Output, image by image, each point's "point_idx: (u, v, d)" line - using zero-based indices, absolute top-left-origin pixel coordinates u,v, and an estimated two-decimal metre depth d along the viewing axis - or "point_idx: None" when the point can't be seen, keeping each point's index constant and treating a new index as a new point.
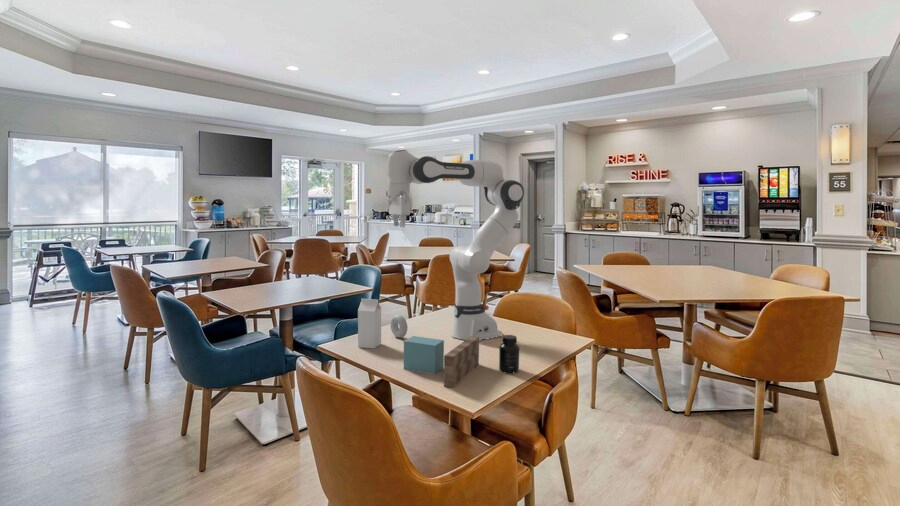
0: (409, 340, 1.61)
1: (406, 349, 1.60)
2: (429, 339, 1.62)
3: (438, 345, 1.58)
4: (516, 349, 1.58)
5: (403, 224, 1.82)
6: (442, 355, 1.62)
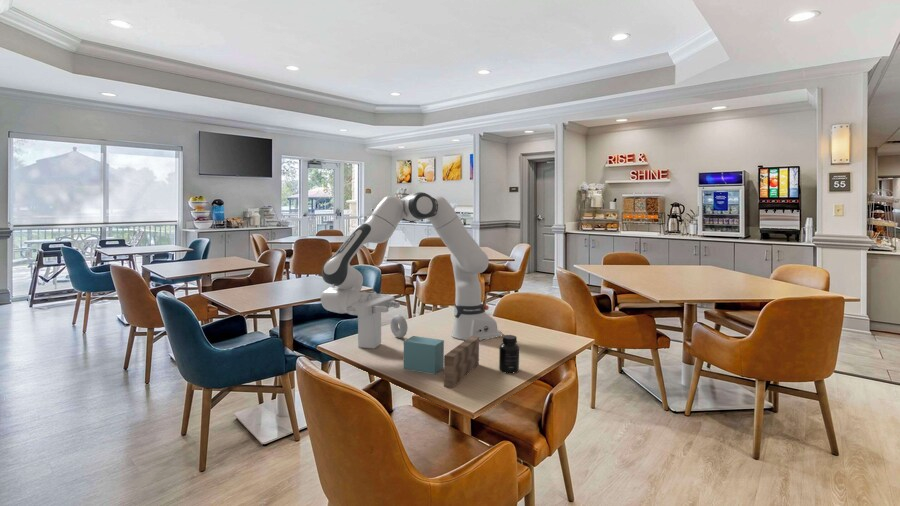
0: (409, 340, 1.61)
1: (406, 349, 1.60)
2: (429, 339, 1.62)
3: (438, 345, 1.58)
4: (516, 349, 1.58)
5: (383, 309, 1.62)
6: (442, 355, 1.62)
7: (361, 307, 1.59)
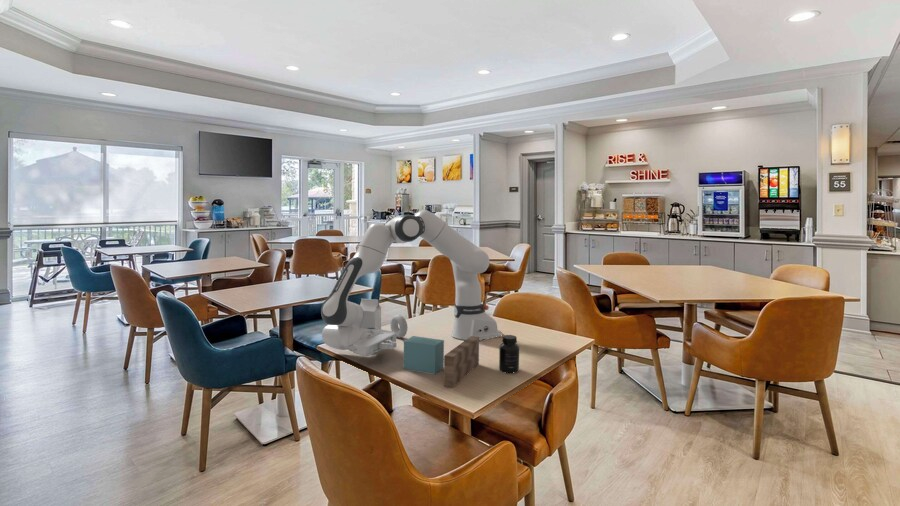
0: (409, 340, 1.61)
1: (406, 349, 1.60)
2: (429, 339, 1.62)
3: (438, 345, 1.58)
4: (516, 349, 1.58)
5: (390, 346, 1.65)
6: (442, 355, 1.62)
7: (362, 347, 1.59)
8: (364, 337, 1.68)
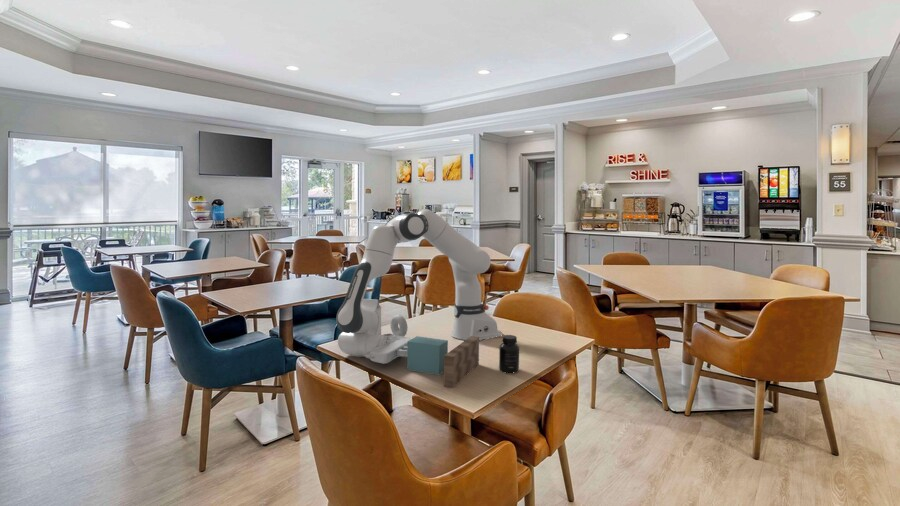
0: (413, 340, 1.61)
1: (410, 350, 1.60)
2: (433, 340, 1.62)
3: (442, 345, 1.57)
4: (516, 349, 1.58)
5: None
6: None
7: (380, 354, 1.57)
8: (381, 344, 1.66)
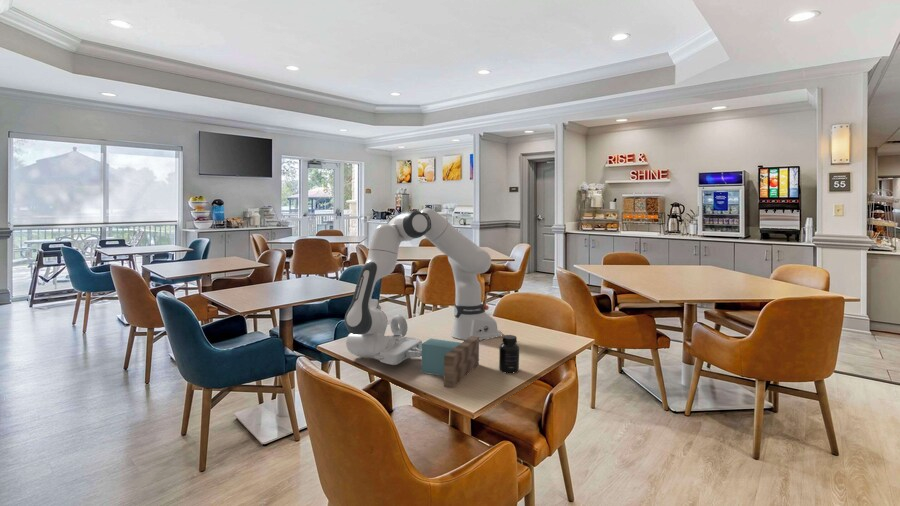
0: (427, 343, 1.58)
1: (424, 352, 1.58)
2: (447, 342, 1.59)
3: None
4: (516, 349, 1.58)
5: (417, 354, 1.61)
6: None
7: (390, 355, 1.55)
8: (390, 345, 1.64)
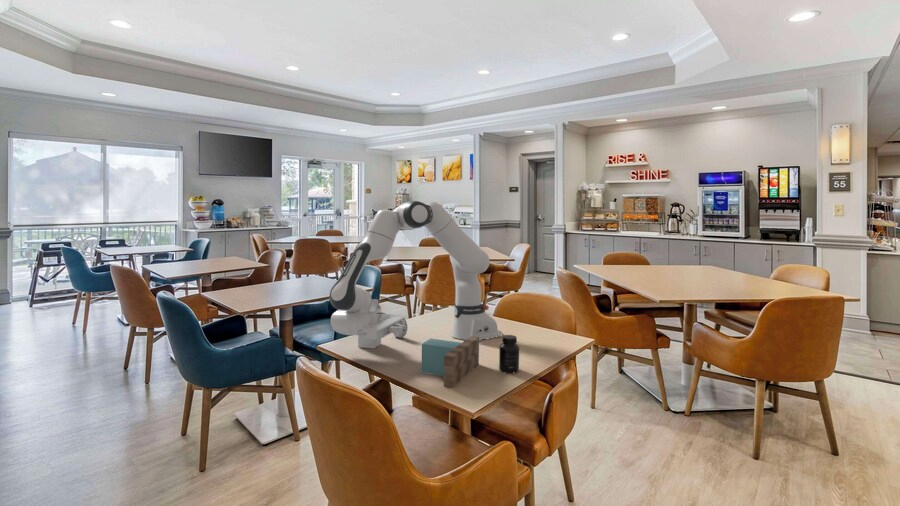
0: (427, 343, 1.58)
1: (424, 352, 1.58)
2: (447, 342, 1.59)
3: None
4: (516, 349, 1.58)
5: (399, 329, 1.65)
6: None
7: (372, 331, 1.59)
8: (373, 322, 1.68)
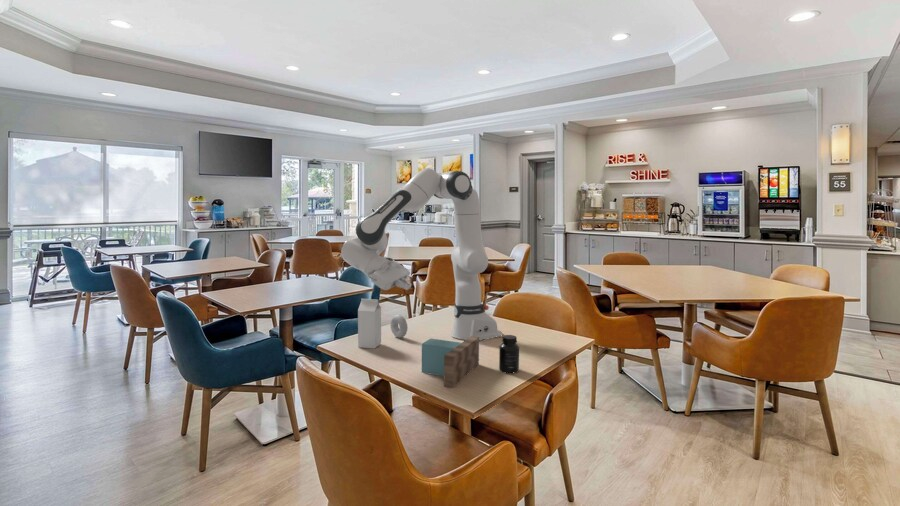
0: (427, 343, 1.58)
1: (424, 352, 1.58)
2: (447, 342, 1.59)
3: None
4: (516, 349, 1.58)
5: (405, 286, 1.70)
6: None
7: (383, 281, 1.62)
8: (384, 268, 1.70)
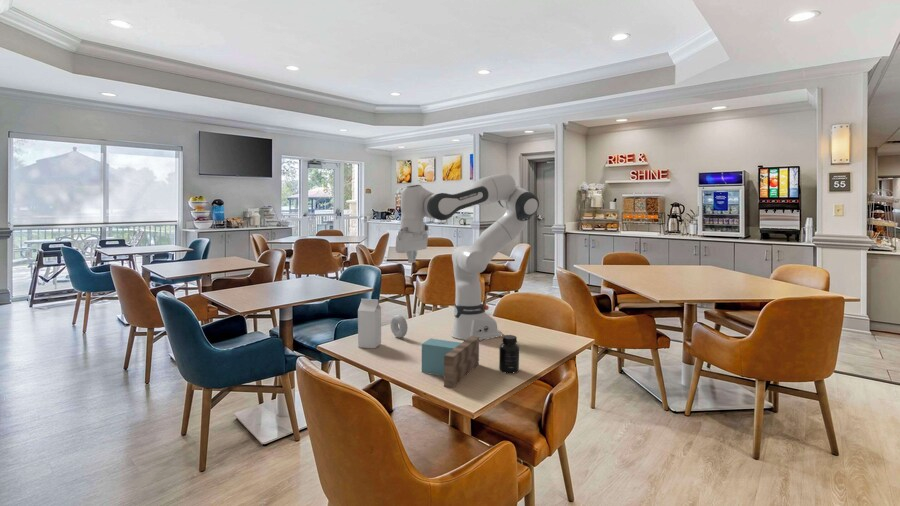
0: (427, 343, 1.58)
1: (424, 352, 1.58)
2: (447, 342, 1.59)
3: None
4: (516, 349, 1.58)
5: (410, 260, 1.81)
6: None
7: (402, 247, 1.72)
8: (414, 234, 1.78)
